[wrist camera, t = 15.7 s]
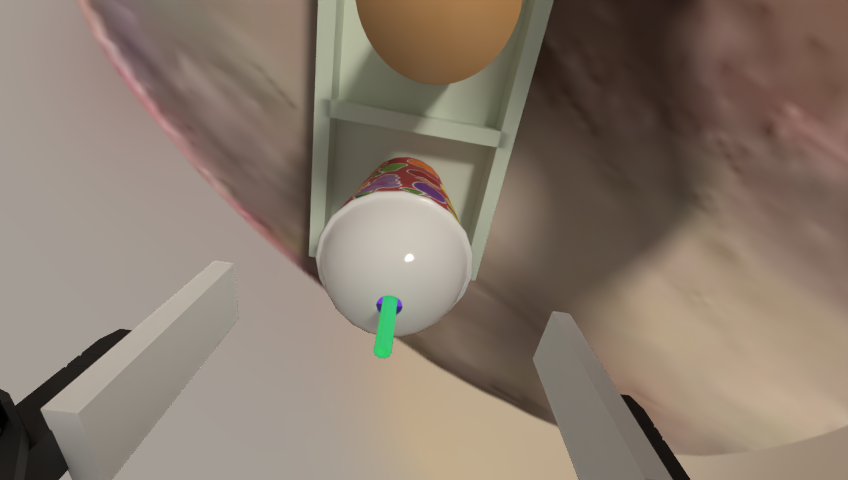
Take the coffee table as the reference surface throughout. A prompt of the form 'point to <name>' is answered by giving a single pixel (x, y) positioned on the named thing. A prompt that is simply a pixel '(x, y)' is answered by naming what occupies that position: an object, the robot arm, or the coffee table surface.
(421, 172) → the smoothie
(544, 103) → the coffee table surface
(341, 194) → the green divided tray
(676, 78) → the coffee table surface
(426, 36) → the tan rounded capsule
